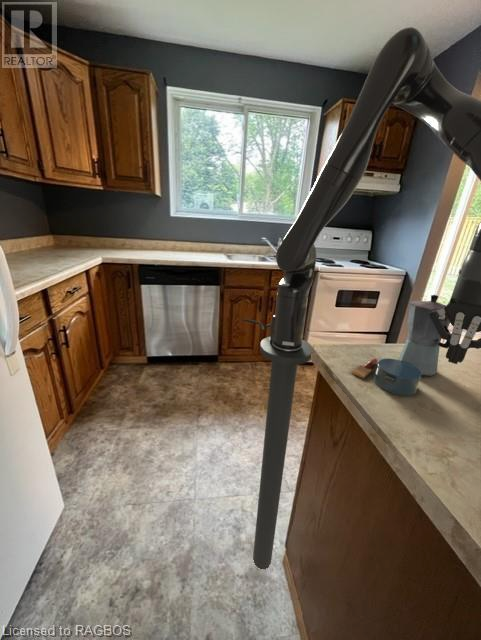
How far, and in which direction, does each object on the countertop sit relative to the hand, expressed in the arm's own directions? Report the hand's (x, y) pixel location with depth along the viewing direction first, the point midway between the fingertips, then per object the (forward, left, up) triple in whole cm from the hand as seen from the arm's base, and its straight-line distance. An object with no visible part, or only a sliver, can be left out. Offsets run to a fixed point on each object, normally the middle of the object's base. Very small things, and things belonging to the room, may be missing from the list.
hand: (452, 361), depth 55 cm
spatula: (-16, +2, -10) cm, 19 cm away
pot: (-9, 0, -10) cm, 13 cm away
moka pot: (-7, +13, -10) cm, 18 cm away
